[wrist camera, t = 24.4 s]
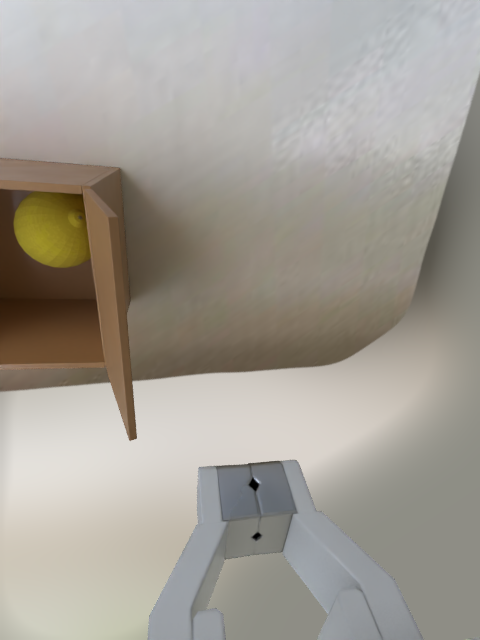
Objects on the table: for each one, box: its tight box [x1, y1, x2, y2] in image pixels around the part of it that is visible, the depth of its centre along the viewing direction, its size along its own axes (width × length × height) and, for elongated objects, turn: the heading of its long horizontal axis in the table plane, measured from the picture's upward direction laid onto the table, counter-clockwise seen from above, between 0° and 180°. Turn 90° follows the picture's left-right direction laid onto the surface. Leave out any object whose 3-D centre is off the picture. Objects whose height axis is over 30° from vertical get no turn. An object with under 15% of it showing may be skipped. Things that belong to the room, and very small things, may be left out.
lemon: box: [13, 191, 91, 268], centre depth 24 cm, size 6×6×8 cm
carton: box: [0, 158, 130, 370], centre depth 24 cm, size 12×13×10 cm
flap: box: [84, 189, 137, 441], centre depth 18 cm, size 12×6×1 cm
